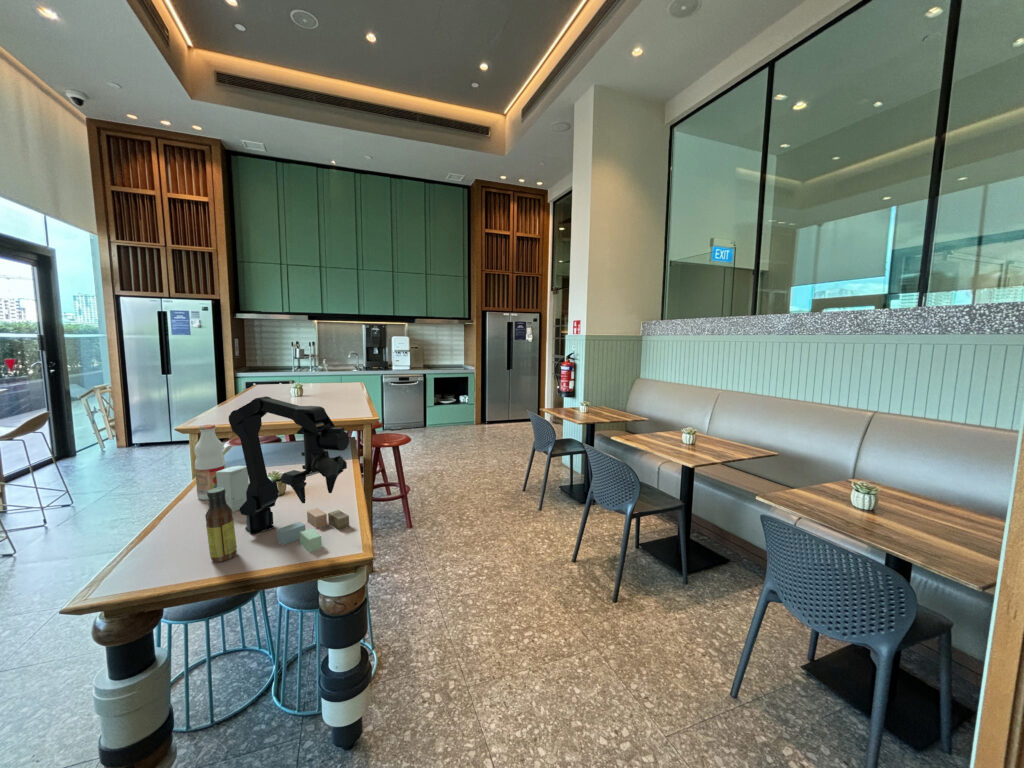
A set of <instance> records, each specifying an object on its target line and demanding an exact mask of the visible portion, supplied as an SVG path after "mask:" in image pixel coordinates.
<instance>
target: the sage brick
mask: <svg viewBox="0 0 1024 768" xmlns="http://www.w3.org/2000/svg"><path fill="white" fill-rule="evenodd" d="M299 540H300V546H302V547H303V548H304V549H305V550H306V551H308V553H312V552H315V551H318V550H321V549H323V542H322V535H321V534H320V533H319V532H318V531H316V530H315V529H314V527H313V528H312V527H311V528H307V529H305V531H301V532H300V539H299Z"/></svg>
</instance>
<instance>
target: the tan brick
mask: <svg viewBox="0 0 1024 768" xmlns="http://www.w3.org/2000/svg"><path fill="white" fill-rule="evenodd" d="M327 517H328V513H327V512H324V511H323V510H321V509H320V508H319V507H315V508H312V509H309V510H307V511H306V519H307V523H308V524H309V525H311V526H313V528H315V529H318V527H319V528H322V527H325V526H327V525H328V521H327V519H328V518H327Z"/></svg>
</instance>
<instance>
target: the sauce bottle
mask: <svg viewBox="0 0 1024 768" xmlns="http://www.w3.org/2000/svg"><path fill="white" fill-rule="evenodd" d="M225 493H226V492H225V488H214V489H211V490H209V491H208V492H207V496H208V498H209V500H208V510H207V511H206V513H205V515H204V517H205V525H206V535H207V541H208V550H209V557H210V560H211V561H212V562H215V563H219V562H226V561H229V560H230V559H232V558H234V557H235V556H237V552H238V551H237V550H238V548H237V547H238V545H237V539H236V538H237V537H236V531H235V522H234V517H233V513H232V509H231V508H230V507H229V506H228V505H227V503H226V500H225Z"/></svg>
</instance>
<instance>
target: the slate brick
mask: <svg viewBox="0 0 1024 768" xmlns="http://www.w3.org/2000/svg"><path fill="white" fill-rule="evenodd" d="M305 530H306V524H305V523H303V522H301V521H298V522H295V523H292V524H289V525H286V526H282V527H279V528H277V529H276V541H277V543H278V544H279V545H281V546H283V545H286V544H290V543H292V542H295V541H297V539H298V540H300V532H301V531H305Z"/></svg>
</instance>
